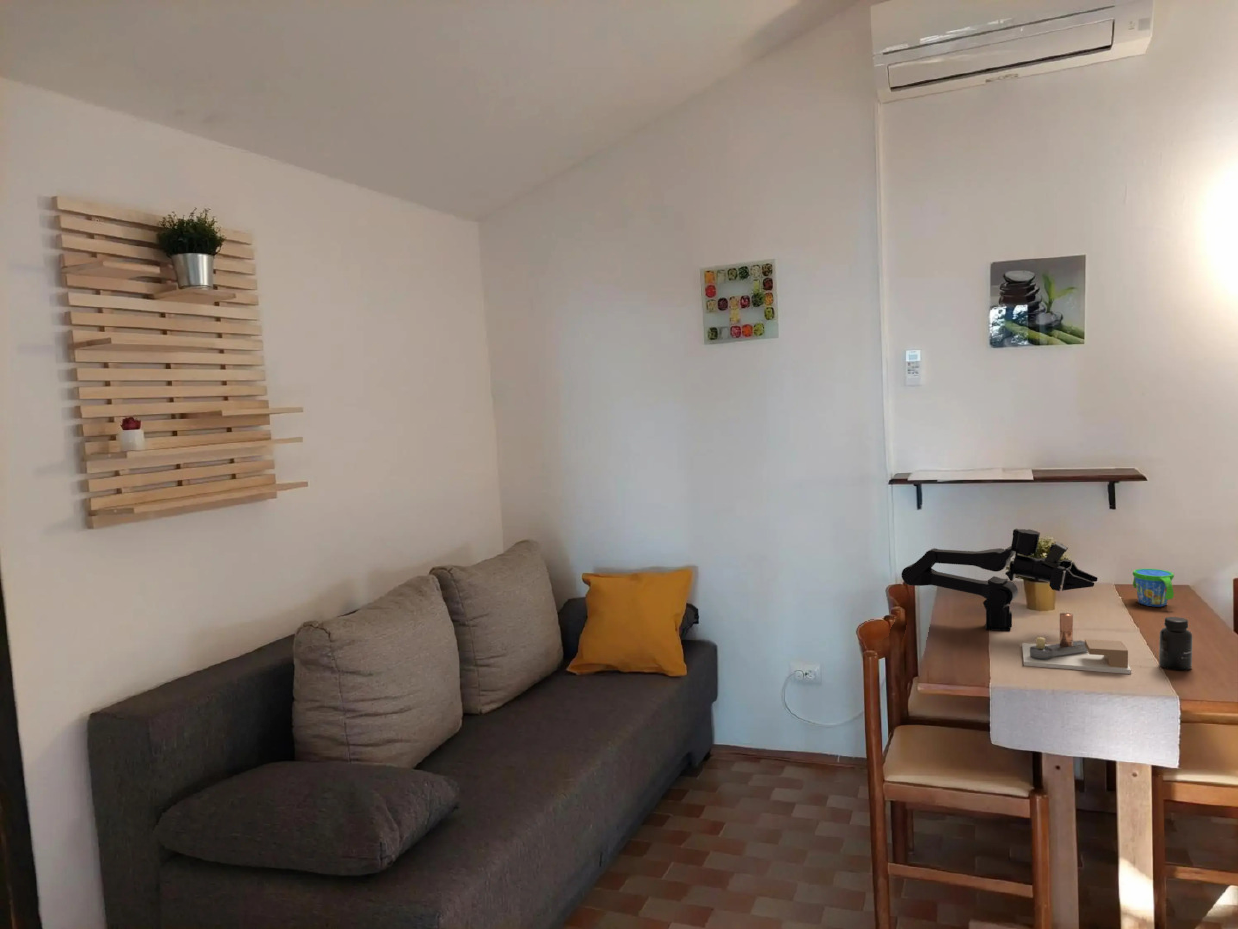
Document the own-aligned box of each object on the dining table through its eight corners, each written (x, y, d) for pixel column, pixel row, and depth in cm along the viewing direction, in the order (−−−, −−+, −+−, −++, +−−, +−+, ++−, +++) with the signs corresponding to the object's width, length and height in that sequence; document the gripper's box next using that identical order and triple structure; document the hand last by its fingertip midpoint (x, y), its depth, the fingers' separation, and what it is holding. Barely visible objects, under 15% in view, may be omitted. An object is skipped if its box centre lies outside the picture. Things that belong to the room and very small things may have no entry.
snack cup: (1185, 610, 263) (1185, 577, 262) (1149, 611, 263) (1149, 578, 262) (1156, 597, 278) (1156, 566, 277) (1122, 598, 279) (1122, 567, 278)
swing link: (1040, 660, 220) (1040, 621, 219) (1025, 655, 224) (1025, 616, 224) (1092, 652, 224) (1092, 614, 223) (1077, 646, 229) (1077, 609, 228)
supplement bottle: (1192, 673, 210) (1193, 624, 209) (1158, 669, 214) (1159, 621, 212) (1191, 664, 216) (1192, 617, 215) (1159, 661, 219) (1159, 614, 218)
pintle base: (1024, 665, 220) (1023, 642, 220) (1022, 646, 235) (1022, 624, 235) (1131, 674, 211) (1131, 649, 210) (1122, 653, 226) (1122, 631, 226)
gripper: (1033, 544, 237) (1098, 557, 229) (1044, 536, 253) (1104, 549, 244) (1026, 584, 238) (1089, 598, 230) (1036, 574, 254) (1096, 587, 246)
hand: (1095, 582), depth 237 cm, fingers open, 9 cm apart
